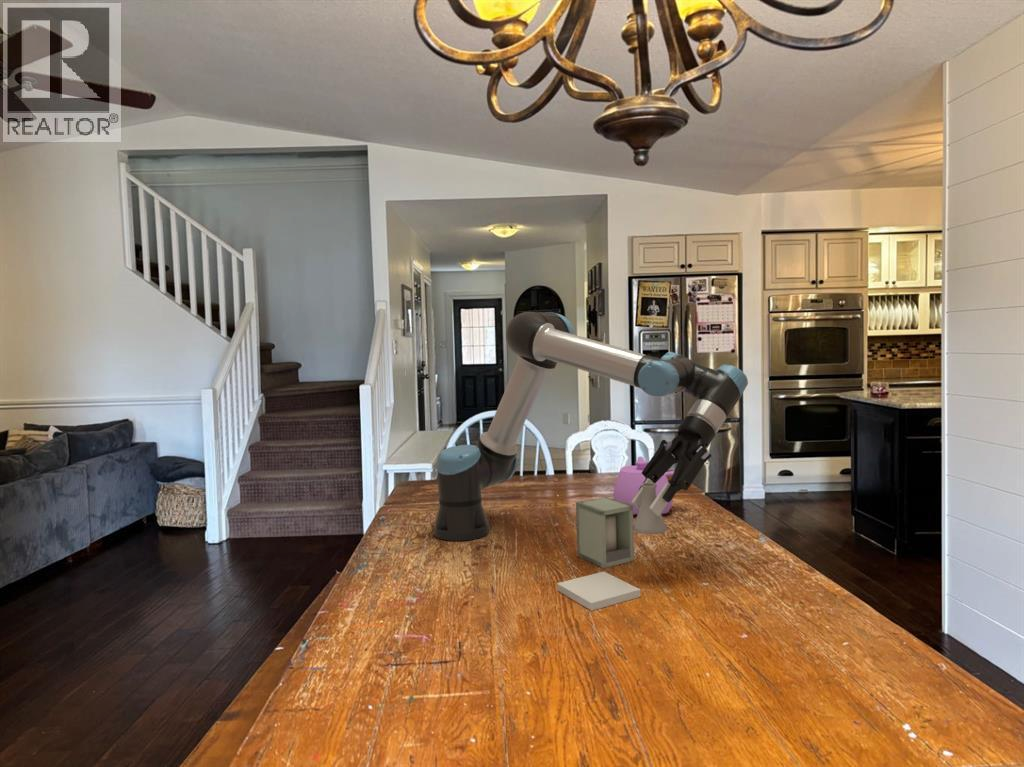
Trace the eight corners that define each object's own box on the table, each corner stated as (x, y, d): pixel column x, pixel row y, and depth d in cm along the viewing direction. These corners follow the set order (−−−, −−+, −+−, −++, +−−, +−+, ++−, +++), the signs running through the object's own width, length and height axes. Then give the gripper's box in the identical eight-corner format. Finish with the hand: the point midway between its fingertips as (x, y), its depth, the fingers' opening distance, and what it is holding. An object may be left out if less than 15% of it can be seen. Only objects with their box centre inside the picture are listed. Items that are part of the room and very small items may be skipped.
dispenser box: (577, 556, 152) (575, 502, 151) (607, 549, 156) (606, 497, 155) (602, 568, 143) (601, 511, 142) (634, 560, 147) (632, 505, 146)
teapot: (688, 519, 179) (687, 466, 178) (612, 518, 183) (611, 466, 182) (681, 499, 201) (681, 452, 200) (614, 498, 205) (613, 452, 204)
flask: (668, 536, 130) (667, 488, 130) (632, 535, 132) (631, 488, 131) (666, 526, 138) (666, 480, 137) (632, 525, 139) (631, 480, 138)
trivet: (557, 590, 131) (557, 583, 131) (603, 578, 137) (603, 571, 137) (591, 610, 121) (591, 603, 120) (640, 596, 126) (640, 589, 126)
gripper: (742, 440, 134) (685, 529, 127) (681, 431, 150) (627, 509, 143) (724, 417, 131) (664, 507, 125) (663, 410, 147) (608, 490, 140)
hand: (645, 508), depth 134 cm, fingers closed on flask, 5 cm apart
